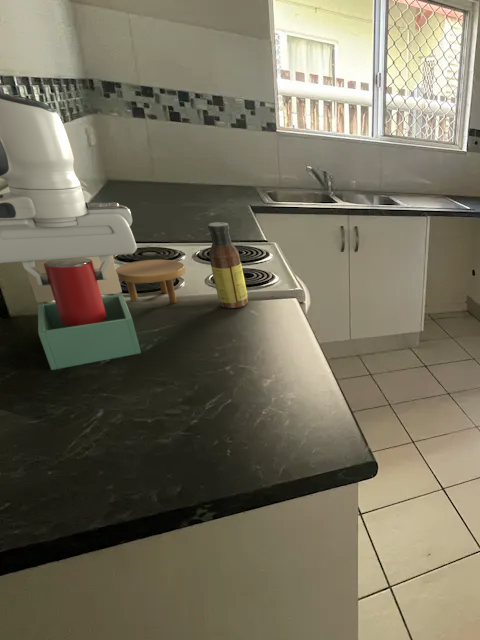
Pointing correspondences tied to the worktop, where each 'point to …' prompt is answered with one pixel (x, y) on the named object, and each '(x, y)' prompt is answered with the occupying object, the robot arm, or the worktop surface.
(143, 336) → the worktop surface
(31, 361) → the worktop surface
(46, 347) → the box
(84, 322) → the can
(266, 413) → the worktop surface
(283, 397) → the worktop surface
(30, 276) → the lid
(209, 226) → the sauce bottle
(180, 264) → the stool
